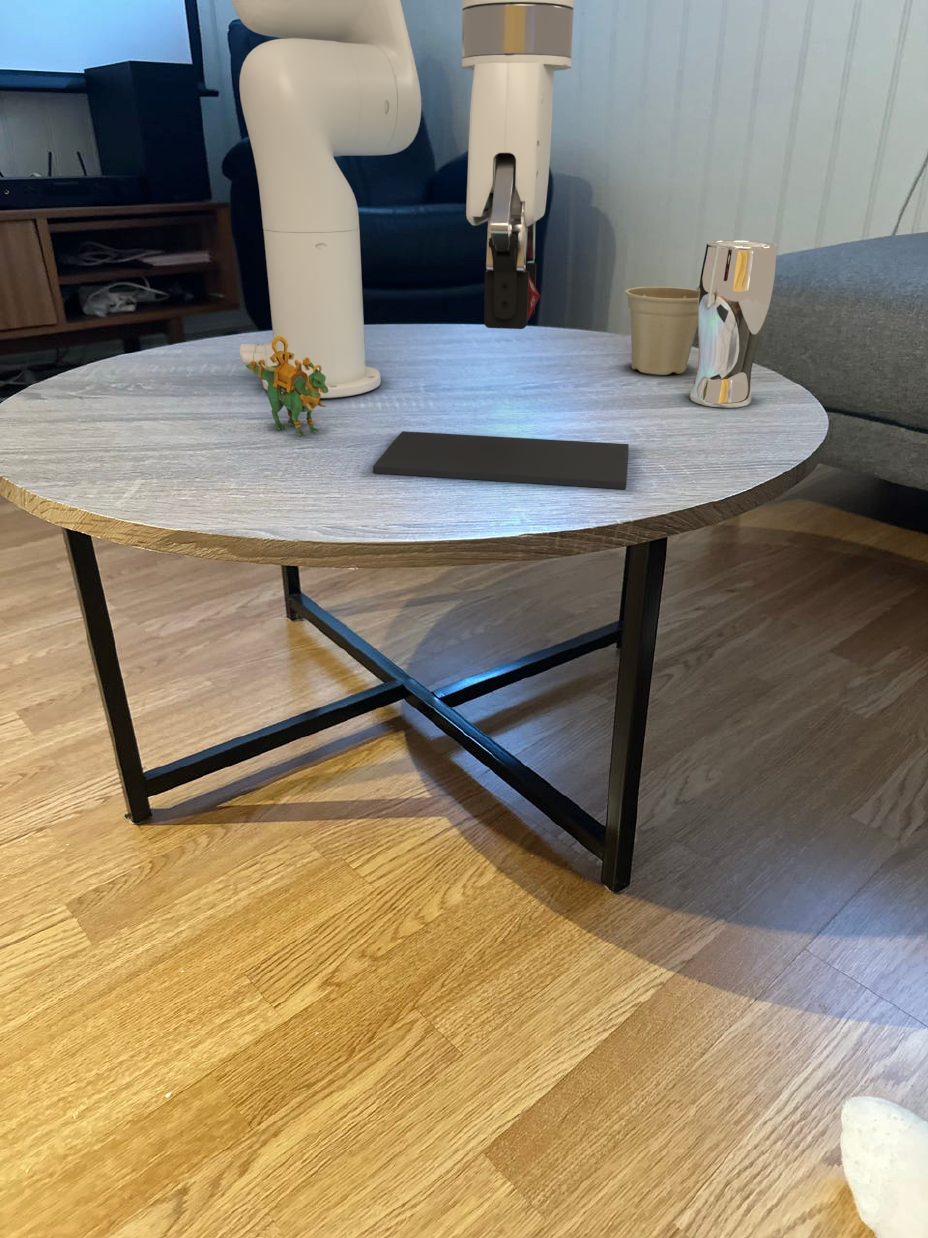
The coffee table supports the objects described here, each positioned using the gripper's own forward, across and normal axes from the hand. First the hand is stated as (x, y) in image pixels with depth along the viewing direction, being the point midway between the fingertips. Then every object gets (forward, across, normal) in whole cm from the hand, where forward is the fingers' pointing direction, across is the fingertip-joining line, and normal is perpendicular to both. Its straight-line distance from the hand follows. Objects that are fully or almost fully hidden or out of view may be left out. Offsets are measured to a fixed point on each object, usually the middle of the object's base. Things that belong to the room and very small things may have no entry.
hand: (510, 319), depth 70 cm
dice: (+1, 0, 0) cm, 1 cm away
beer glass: (+12, -24, +19) cm, 32 cm away
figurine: (+11, -6, -21) cm, 25 cm away
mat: (+11, 0, 0) cm, 11 cm away
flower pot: (+11, -37, +13) cm, 41 cm away
